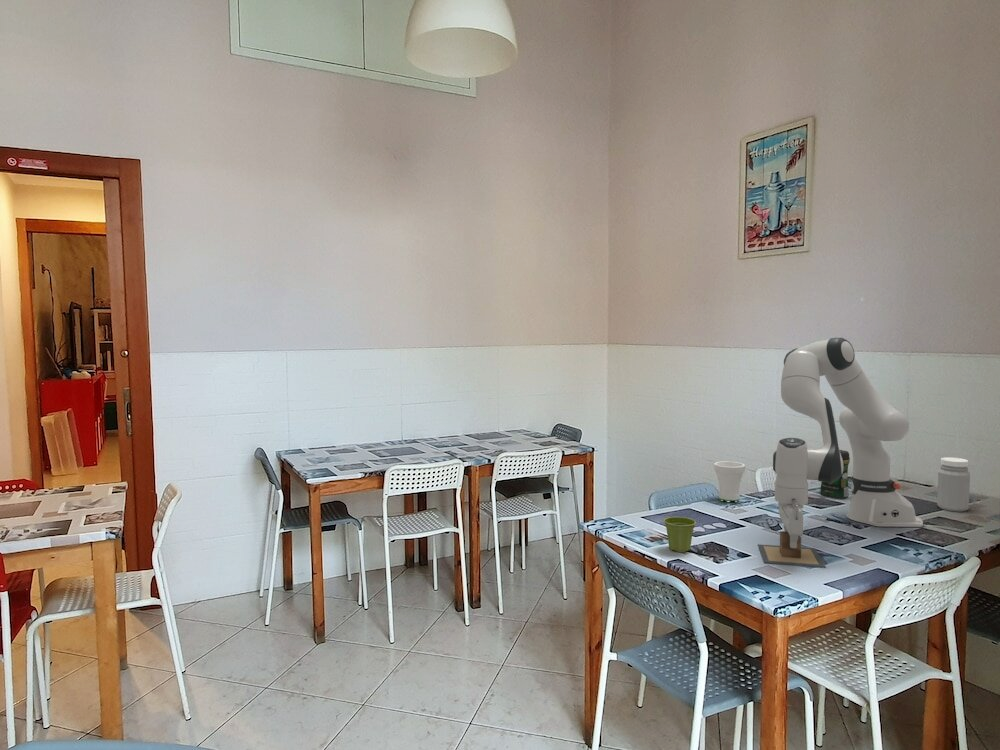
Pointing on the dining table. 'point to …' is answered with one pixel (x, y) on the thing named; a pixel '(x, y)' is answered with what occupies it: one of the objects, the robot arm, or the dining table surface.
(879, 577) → the dining table surface
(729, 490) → the cup
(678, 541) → the plant pot
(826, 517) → the dining table surface
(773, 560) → the coaster mat
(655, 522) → the dining table surface
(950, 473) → the jar
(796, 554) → the walnut block
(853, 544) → the dining table surface
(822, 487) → the coffee jar
